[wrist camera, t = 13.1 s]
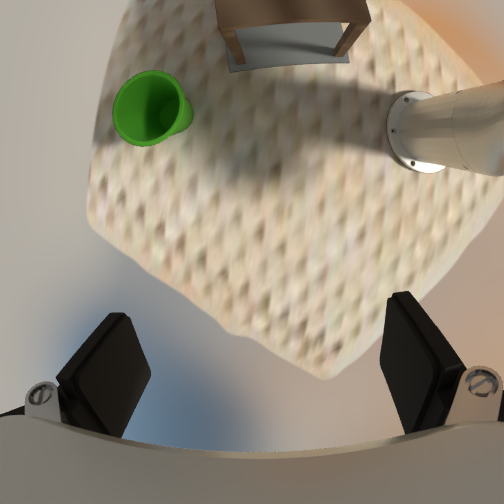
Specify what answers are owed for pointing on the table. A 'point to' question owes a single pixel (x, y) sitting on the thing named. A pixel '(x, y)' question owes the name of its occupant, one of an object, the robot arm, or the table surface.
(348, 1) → the cover
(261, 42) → the mat
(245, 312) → the table surface
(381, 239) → the table surface
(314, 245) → the table surface
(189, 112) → the cup
